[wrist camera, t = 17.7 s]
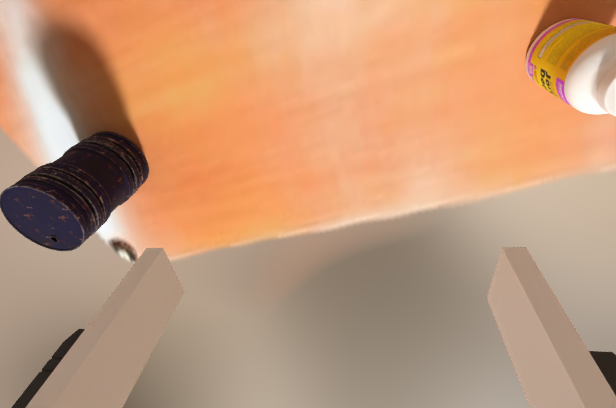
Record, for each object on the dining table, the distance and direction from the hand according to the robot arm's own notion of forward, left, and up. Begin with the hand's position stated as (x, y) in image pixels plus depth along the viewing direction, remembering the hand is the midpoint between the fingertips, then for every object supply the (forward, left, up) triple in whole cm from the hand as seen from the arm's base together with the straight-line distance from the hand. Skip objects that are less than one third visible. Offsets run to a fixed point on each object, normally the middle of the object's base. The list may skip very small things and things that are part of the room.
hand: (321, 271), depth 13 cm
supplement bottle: (+16, +16, -32) cm, 39 cm away
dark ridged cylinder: (-18, -32, -32) cm, 49 cm away
